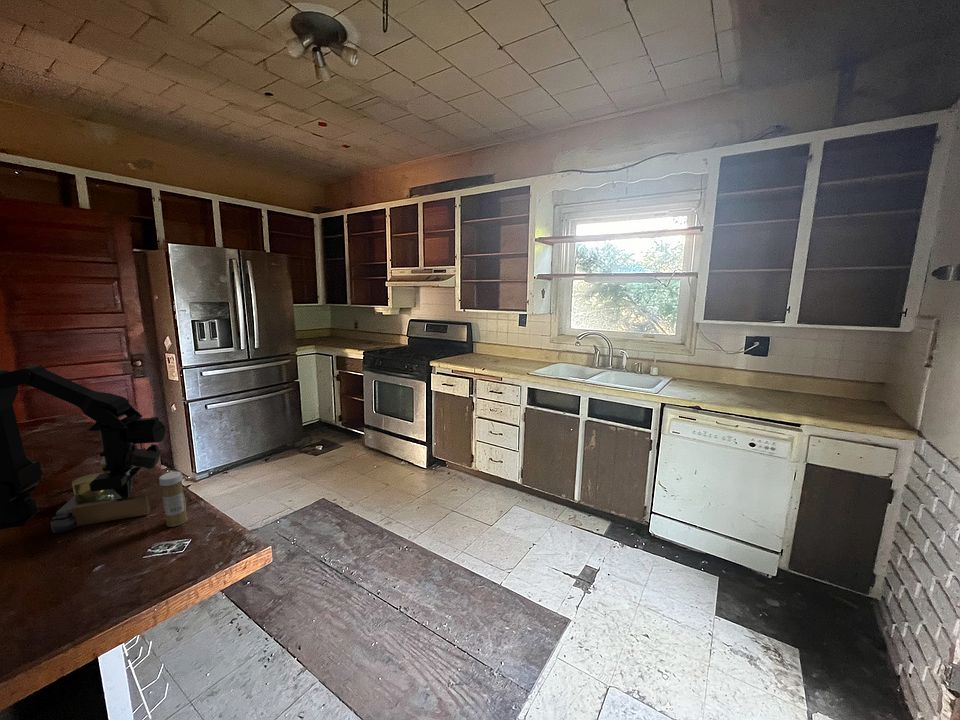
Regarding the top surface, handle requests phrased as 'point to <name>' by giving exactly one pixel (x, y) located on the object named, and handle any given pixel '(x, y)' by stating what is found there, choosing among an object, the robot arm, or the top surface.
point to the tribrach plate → (88, 493)
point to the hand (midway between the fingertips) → (126, 498)
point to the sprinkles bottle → (173, 498)
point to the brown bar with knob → (100, 512)
